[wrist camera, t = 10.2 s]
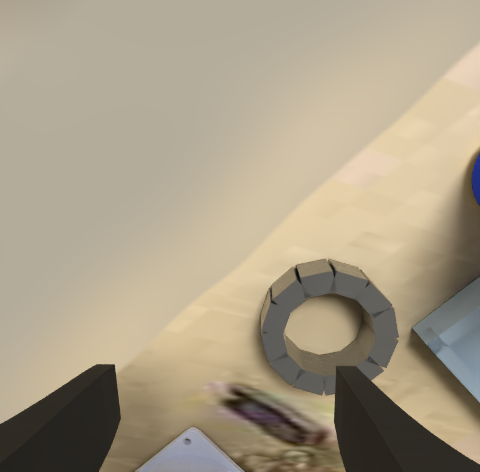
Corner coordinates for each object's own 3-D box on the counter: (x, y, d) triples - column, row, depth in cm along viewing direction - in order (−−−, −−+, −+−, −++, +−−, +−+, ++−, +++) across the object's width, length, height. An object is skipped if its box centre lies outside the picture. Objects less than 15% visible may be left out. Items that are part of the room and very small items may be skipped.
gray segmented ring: (316, 392, 24) (321, 416, 21) (237, 313, 23) (235, 331, 20) (409, 321, 22) (424, 340, 20) (329, 235, 21) (337, 245, 19)
